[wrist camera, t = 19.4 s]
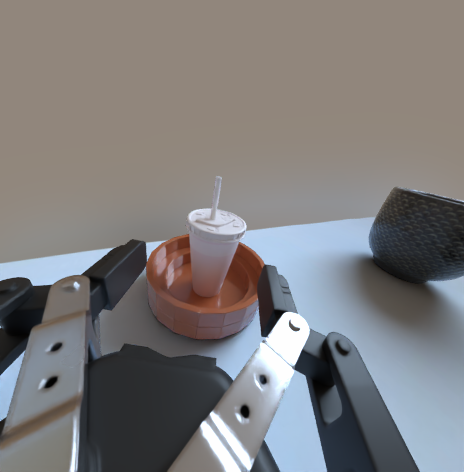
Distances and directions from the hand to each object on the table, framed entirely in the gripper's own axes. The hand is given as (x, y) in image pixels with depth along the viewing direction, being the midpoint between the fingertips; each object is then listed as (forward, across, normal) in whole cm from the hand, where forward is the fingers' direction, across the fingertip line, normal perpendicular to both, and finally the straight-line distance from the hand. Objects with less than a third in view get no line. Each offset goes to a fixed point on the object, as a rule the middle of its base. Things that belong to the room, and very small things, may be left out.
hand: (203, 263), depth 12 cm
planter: (+23, -40, +10) cm, 47 cm away
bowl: (+8, 0, +10) cm, 13 cm away
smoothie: (+7, 0, +10) cm, 12 cm away
